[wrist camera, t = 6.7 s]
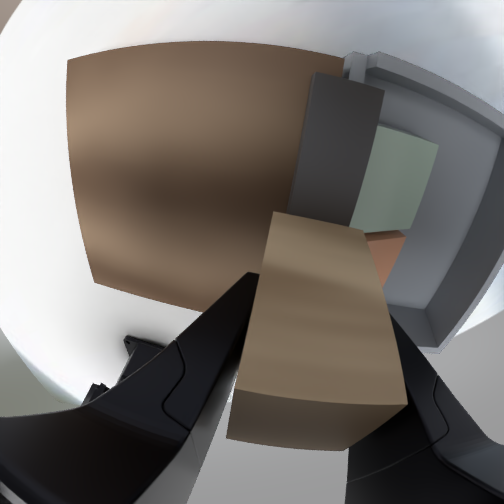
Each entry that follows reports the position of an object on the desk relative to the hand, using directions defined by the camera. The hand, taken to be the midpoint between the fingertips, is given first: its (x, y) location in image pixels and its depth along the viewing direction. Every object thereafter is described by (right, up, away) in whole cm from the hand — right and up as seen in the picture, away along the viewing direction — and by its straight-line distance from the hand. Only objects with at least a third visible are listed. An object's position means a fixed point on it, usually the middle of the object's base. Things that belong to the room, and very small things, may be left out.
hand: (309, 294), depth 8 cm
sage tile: (+4, +5, +3) cm, 7 cm away
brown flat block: (-5, +5, +6) cm, 10 cm away
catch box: (+7, +3, +5) cm, 9 cm away
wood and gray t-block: (+1, +2, +3) cm, 4 cm away
